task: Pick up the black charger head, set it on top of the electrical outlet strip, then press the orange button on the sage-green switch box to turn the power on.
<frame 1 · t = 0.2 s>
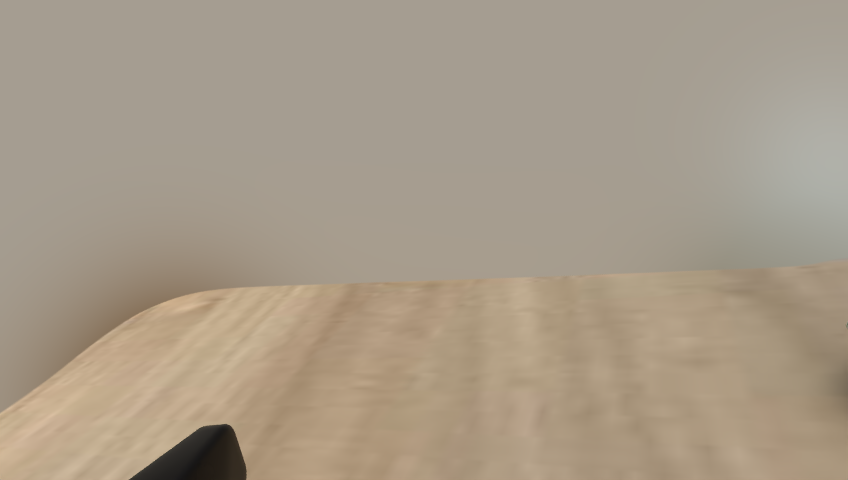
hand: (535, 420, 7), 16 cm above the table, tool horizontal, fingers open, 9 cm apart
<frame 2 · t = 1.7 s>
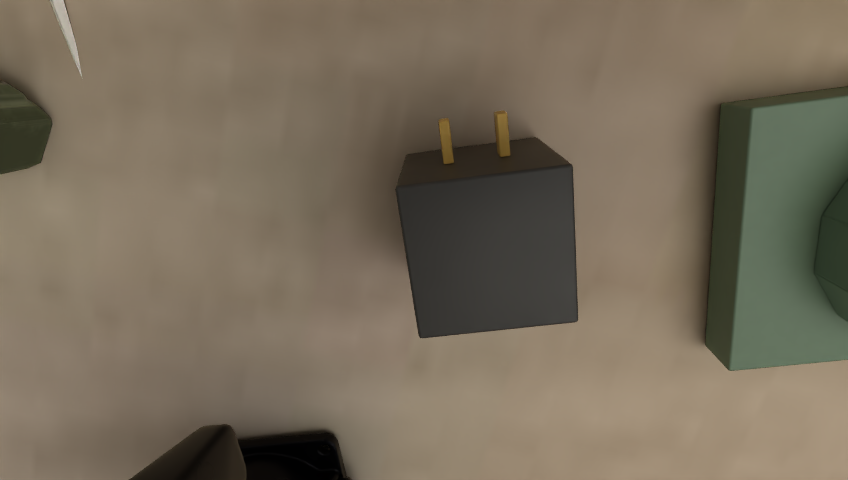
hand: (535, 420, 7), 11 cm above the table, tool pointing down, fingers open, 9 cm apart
charger head: (477, 208, 17), on the table
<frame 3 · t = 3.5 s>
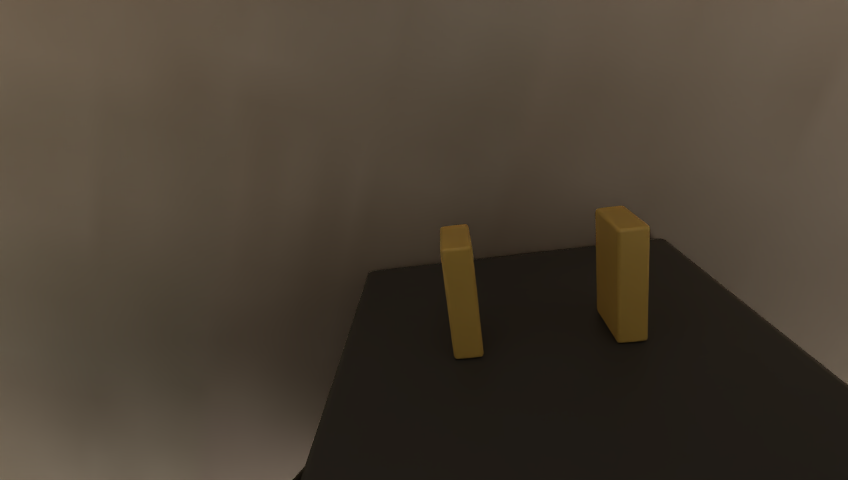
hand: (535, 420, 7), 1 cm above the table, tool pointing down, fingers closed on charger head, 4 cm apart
charger head: (522, 377, 8), on the table, touching gripper
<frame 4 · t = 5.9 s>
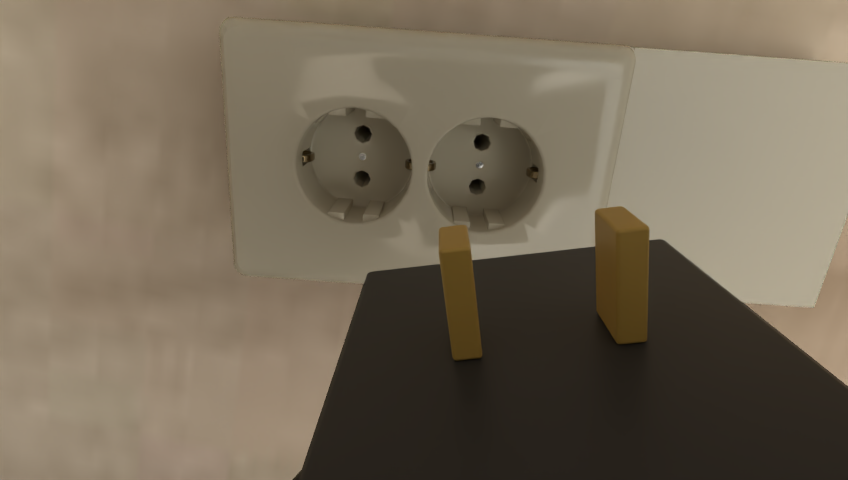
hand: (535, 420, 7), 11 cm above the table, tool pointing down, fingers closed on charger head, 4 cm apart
electrical outlet: (525, 155, 17), on the table
charger head: (521, 377, 8), point 10 cm above the table, touching gripper
when the fingers open (5 cm above the table, at t = 8.3 s): charger head stays where it is, resting on electrical outlet.
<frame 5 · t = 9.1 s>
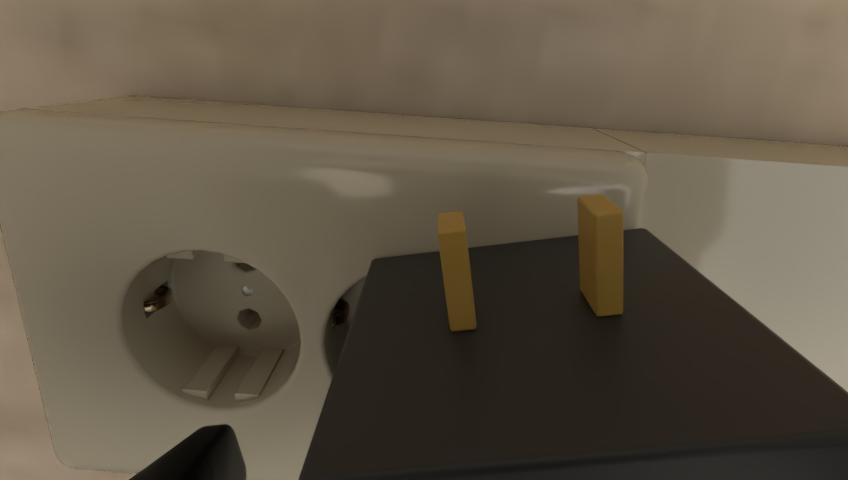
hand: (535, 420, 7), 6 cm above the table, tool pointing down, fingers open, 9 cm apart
electrical outlet: (492, 264, 13), on the table, touching charger head
charger head: (515, 358, 9), point 4 cm above the table, touching electrical outlet
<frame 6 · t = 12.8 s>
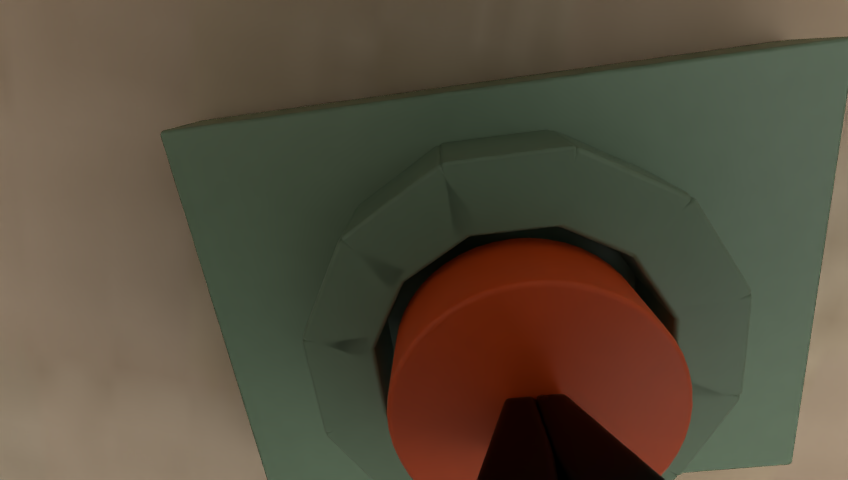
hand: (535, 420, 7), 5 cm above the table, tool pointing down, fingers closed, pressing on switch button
switch button: (528, 383, 8), point 4 cm above the table, slide at 0.0 cm, touching gripper
switch box: (499, 281, 12), on the table
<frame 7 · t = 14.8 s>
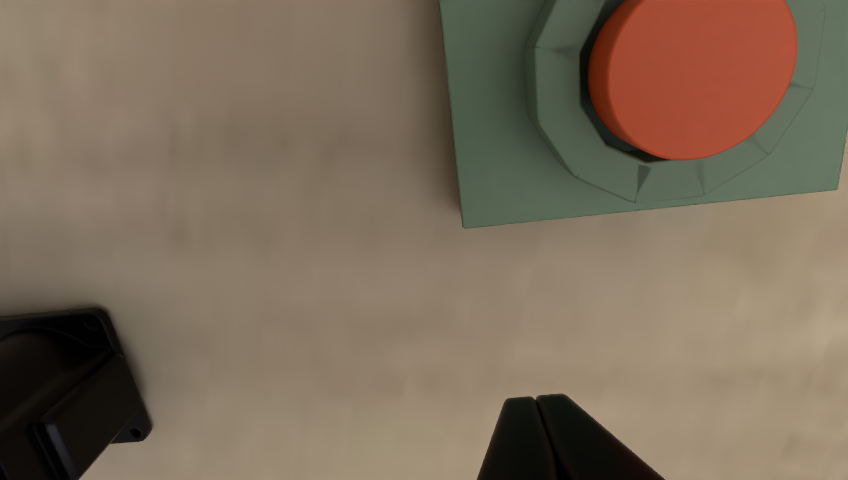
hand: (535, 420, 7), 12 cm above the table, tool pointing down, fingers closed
switch button: (684, 68, 13), point 4 cm above the table, slide at 0.1 cm
switch box: (629, 65, 16), on the table
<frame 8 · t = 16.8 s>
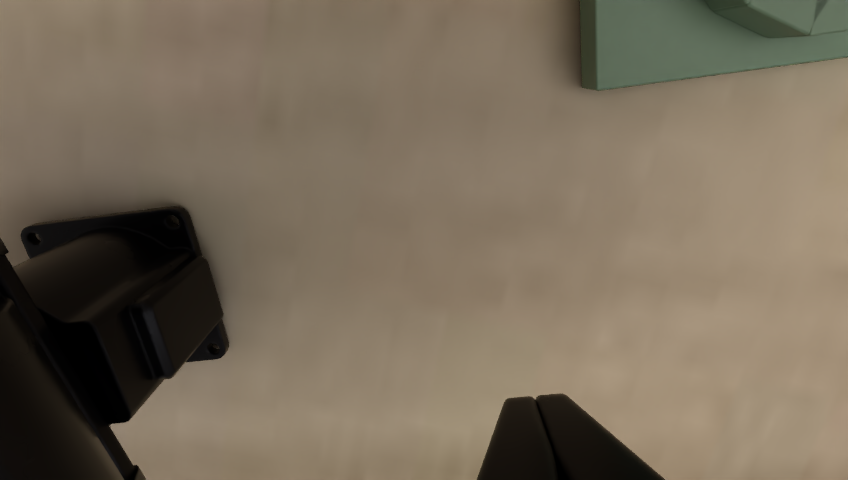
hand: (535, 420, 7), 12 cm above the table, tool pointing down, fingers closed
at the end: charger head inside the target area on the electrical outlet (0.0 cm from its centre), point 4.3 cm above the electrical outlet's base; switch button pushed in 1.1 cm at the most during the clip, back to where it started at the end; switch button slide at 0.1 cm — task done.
